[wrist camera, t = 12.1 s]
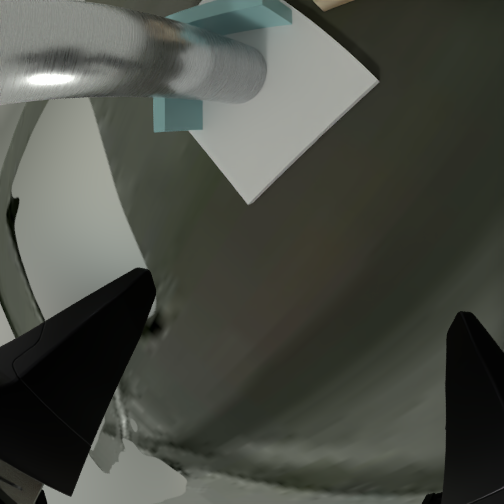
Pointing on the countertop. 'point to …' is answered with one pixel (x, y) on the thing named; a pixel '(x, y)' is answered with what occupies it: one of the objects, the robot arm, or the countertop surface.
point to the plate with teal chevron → (268, 92)
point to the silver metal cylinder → (118, 55)
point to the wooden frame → (330, 3)
